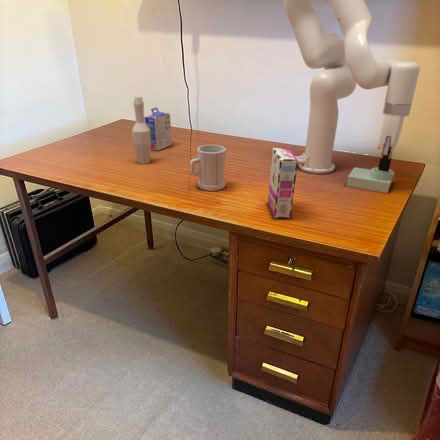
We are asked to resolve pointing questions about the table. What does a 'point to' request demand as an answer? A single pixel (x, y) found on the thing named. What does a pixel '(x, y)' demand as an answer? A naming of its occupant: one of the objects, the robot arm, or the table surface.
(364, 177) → the green push button box
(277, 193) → the candy bar box
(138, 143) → the faceted bottle
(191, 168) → the cup
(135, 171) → the table surface
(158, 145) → the ink cartridge box
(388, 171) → the grey push button
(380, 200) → the table surface
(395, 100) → the robot arm
